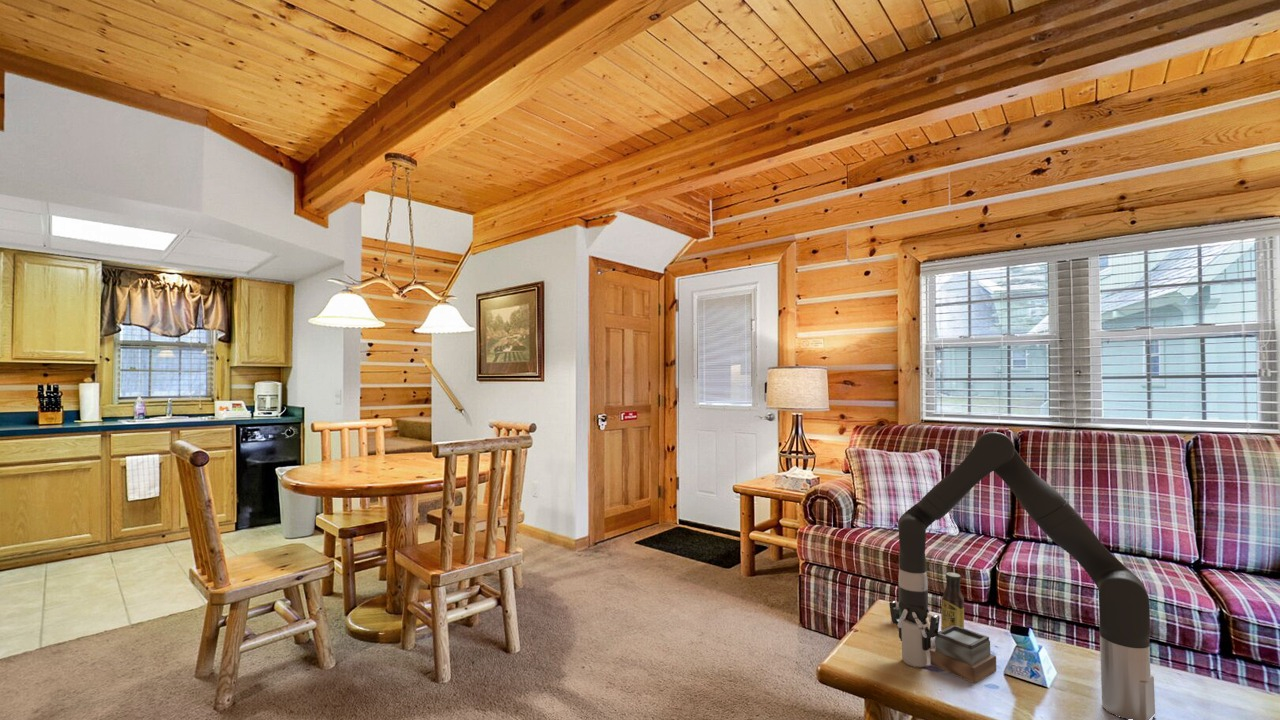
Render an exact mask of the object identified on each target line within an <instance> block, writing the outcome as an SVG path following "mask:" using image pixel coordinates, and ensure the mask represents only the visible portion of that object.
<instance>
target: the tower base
mask: <svg viewBox="0 0 1280 720" xmlns="http://www.w3.org/2000/svg"><path fill="white" fill-rule="evenodd" d="M934 638H935V639H934V641H935V642H934V644H935V646H934V648H932V649H929V654H930V655H929V657H930V658H929V660H930V661H929V663H930V665H931V666H932V667H935V668H937V669H940V670H943V671H944V672H947V673H949V674H952V675H954V676H956V677H958V678H962V679H964V680H966V681H968V682H970V683H972V684H976V683H978V682H979V681H981V680H983V679H985V678H987V677H988V676H990V675H991V674H993V673H995V672H997V655H995V654H992V653H991V640H990V637H989V636H987V635H984V634H982V633H979V632H976V631H973V630H969V629H968V628H965V627H964V628H962V627H959V626H956V625H952V626H950V627H948V628H946V629H943V630H941V629H940V631H939V630H938V635H937V636H935V637H934Z"/></svg>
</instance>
